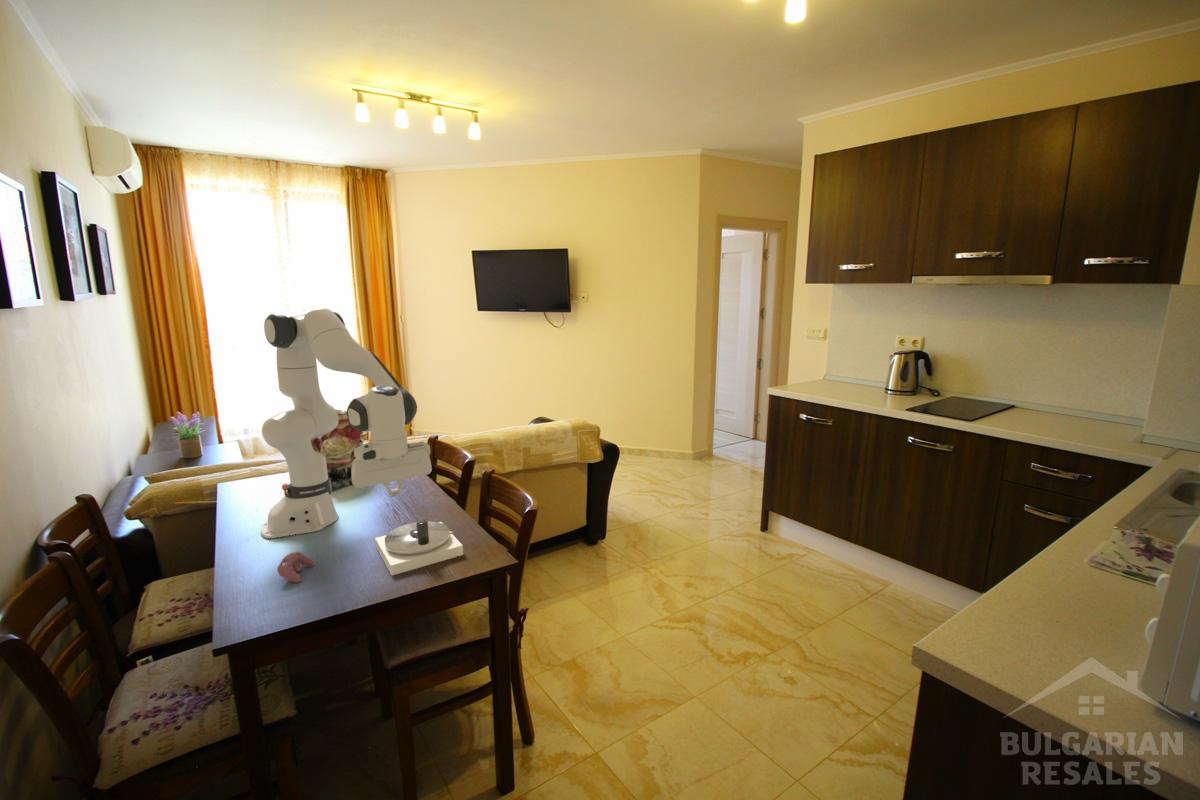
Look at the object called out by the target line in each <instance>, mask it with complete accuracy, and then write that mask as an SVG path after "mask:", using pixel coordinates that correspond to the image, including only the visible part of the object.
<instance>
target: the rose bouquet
mask: <svg viewBox="0 0 1200 800" xmlns="http://www.w3.org/2000/svg"><path fill="white" fill-rule="evenodd" d="M334 409H335V410H336V411H337V413H338V417H339V422H338V425H337V427H336V428H335V429H333V430H332V431H331V432H329V433H327V434H326V435H323V436H320V437H318V438H315V439H312V440H311V445H312V447H313V449H314V451H317V452H320V453H321V454H323V455H324V456H325V458H326V464H327V473H328V477H329V479H330V482H331V490H332V492H336V491H339V490H342V489H344V488H347V487H351V486H354V485H353V484H352V478H351V469H352V462H353V460H354V459H355V458H356V457H355V455H354V449H355V448H357V447H359V446H362V445H364V441H363V440H362V438H365V437H366V436H369V435H368V433H367V434H364V432H360V431H358V430H356V429H354V428H353V427H352V426H350V424H349V422H348V417H347V410H346V411H345V410H342V409H336V408H334ZM332 492H331V493H332Z"/></svg>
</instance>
